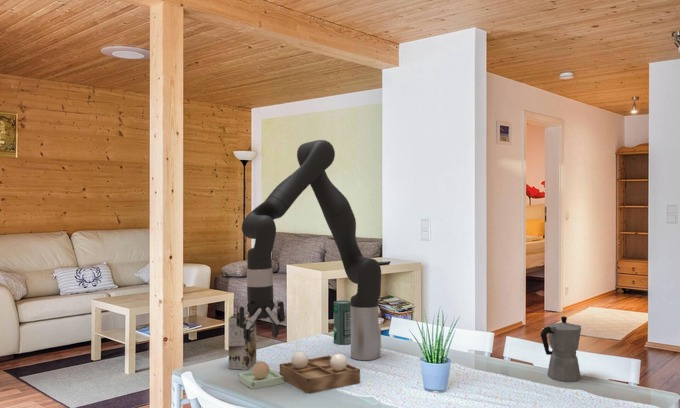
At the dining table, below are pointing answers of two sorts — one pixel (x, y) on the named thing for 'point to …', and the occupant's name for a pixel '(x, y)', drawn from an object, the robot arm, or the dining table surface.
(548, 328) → the coffeepot
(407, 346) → the dining table surface
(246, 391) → the dining table surface
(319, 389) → the egg tray
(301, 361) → the white egg
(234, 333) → the coffee box
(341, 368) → the white egg
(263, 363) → the brown egg
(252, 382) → the dish
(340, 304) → the can
